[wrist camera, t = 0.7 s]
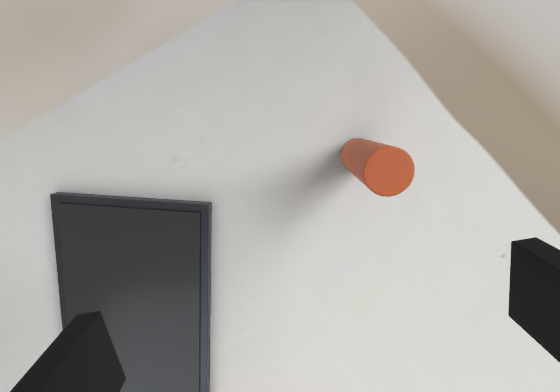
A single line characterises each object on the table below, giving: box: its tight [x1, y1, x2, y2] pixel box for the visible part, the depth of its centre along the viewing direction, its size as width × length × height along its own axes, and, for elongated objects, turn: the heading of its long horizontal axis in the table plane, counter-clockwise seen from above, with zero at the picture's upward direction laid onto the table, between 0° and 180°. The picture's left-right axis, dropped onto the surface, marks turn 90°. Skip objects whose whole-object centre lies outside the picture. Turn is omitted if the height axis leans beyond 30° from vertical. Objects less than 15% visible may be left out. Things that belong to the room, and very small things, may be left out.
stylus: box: [341, 138, 414, 196], centre depth 23 cm, size 3×3×11 cm
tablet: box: [50, 192, 212, 392], centre depth 31 cm, size 20×14×1 cm
